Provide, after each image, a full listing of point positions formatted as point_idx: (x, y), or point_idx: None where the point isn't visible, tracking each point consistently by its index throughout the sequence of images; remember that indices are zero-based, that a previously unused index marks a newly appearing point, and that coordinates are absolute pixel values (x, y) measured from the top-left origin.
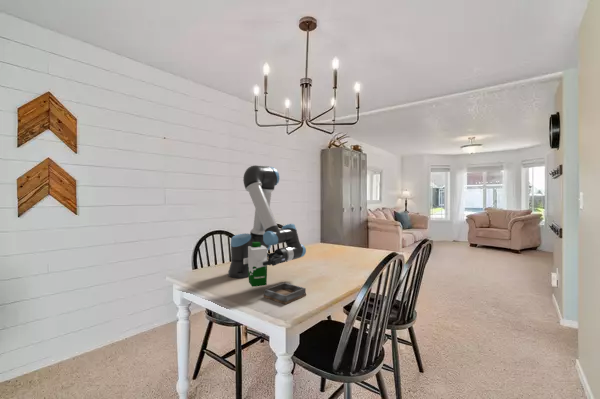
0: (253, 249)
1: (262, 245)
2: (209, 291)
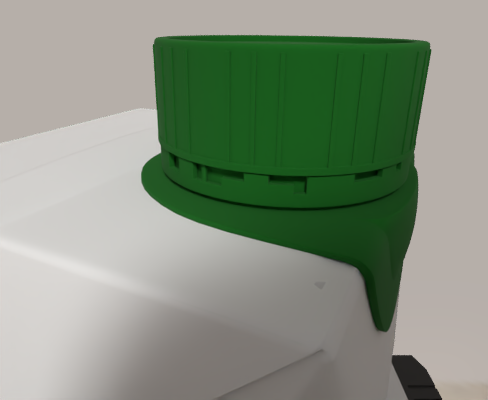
0: (133, 113)
1: (289, 312)
2: (480, 391)
